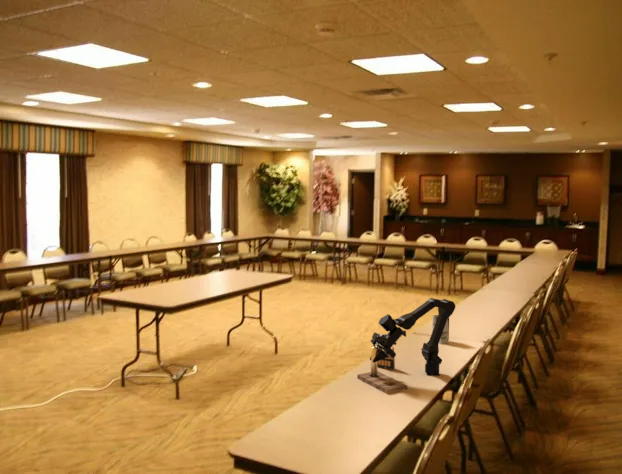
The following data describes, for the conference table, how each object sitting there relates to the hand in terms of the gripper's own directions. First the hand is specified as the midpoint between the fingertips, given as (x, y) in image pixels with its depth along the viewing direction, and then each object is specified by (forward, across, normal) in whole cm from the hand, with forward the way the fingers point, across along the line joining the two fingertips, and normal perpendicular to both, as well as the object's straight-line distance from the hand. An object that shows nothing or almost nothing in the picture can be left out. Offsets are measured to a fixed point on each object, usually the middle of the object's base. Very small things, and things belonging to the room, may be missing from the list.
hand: (371, 360), depth 277 cm
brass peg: (+5, 0, +7) cm, 9 cm away
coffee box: (-43, -52, +57) cm, 88 cm away
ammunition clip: (-4, -16, +18) cm, 24 cm away
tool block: (+5, +6, +9) cm, 12 cm away
